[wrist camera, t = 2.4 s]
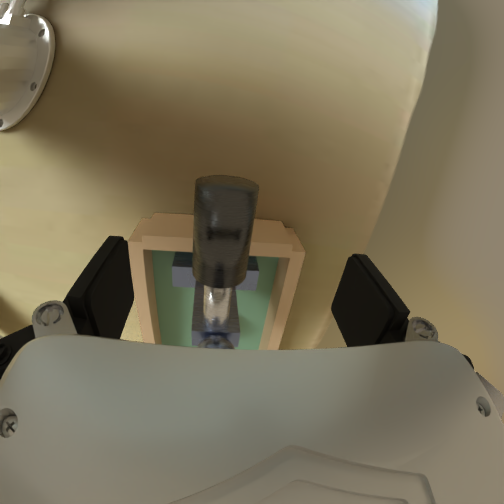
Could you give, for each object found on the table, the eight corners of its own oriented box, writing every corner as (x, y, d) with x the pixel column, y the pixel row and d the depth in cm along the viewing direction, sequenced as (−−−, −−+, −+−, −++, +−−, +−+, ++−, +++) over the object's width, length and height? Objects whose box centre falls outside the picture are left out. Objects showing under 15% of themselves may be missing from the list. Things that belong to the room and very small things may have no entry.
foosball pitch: (141, 212, 23) (121, 244, 18) (293, 222, 25) (313, 255, 20) (162, 378, 35) (158, 412, 30) (255, 381, 38) (260, 414, 33)
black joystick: (178, 151, 19) (134, 204, 9) (270, 159, 20) (321, 217, 10) (176, 278, 25) (159, 384, 15) (251, 281, 26) (270, 387, 16)
